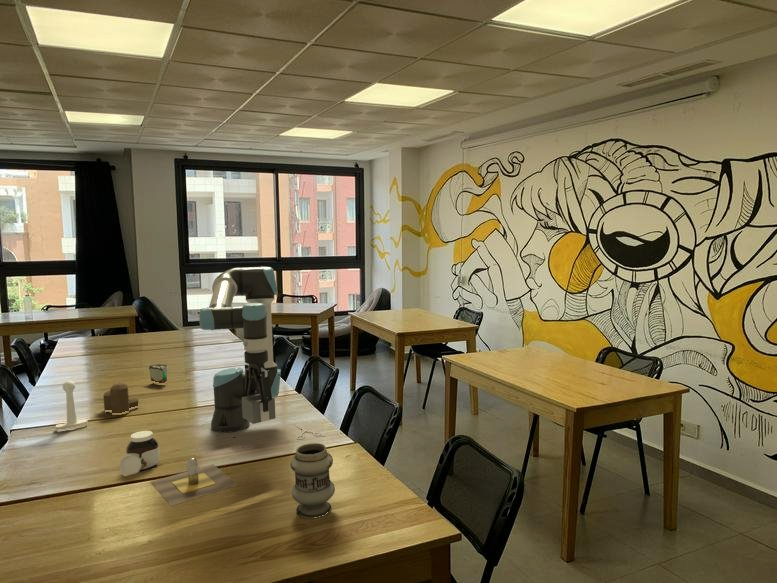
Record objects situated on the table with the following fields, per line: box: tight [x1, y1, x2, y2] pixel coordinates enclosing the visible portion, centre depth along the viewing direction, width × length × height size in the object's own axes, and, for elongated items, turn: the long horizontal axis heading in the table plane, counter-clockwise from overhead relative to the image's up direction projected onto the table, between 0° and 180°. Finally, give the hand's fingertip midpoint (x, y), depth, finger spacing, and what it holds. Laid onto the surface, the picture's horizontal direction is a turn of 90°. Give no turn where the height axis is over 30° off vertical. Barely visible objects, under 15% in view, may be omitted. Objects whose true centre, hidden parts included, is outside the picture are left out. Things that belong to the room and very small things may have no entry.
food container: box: [148, 363, 169, 383], centre depth 288 cm, size 12×6×10 cm, turn 58°
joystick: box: [55, 380, 89, 431], centre depth 223 cm, size 11×8×20 cm
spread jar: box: [118, 430, 160, 477], centre depth 181 cm, size 12×11×12 cm
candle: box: [103, 380, 139, 414], centre depth 243 cm, size 14×14×15 cm
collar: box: [242, 394, 277, 425], centre depth 181 cm, size 8×8×7 cm
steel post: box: [186, 457, 199, 485], centre depth 167 cm, size 3×3×8 cm
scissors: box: [296, 428, 326, 441], centre depth 215 cm, size 11×1×20 cm
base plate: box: [150, 463, 239, 507], centre depth 168 cm, size 20×20×2 cm
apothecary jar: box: [289, 442, 336, 519], centre depth 152 cm, size 12×12×18 cm
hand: (259, 417), depth 181 cm, fingers closed on collar, 8 cm apart
